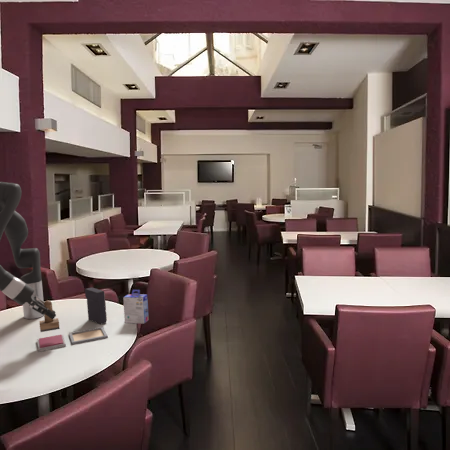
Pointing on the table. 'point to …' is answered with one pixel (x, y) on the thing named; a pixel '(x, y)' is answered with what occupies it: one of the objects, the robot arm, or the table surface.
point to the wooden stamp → (49, 320)
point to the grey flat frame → (87, 335)
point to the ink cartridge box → (136, 308)
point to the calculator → (96, 305)
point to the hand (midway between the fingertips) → (54, 315)
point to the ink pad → (51, 342)
